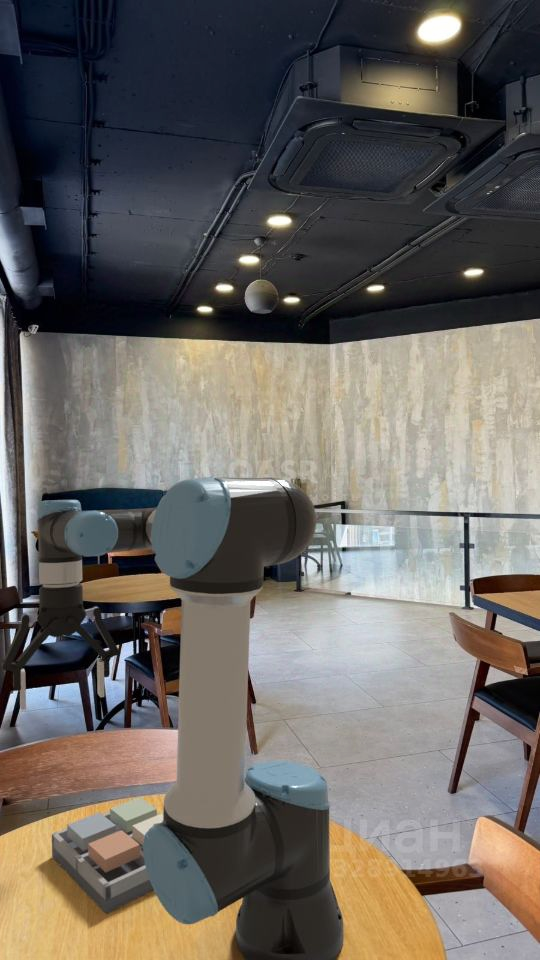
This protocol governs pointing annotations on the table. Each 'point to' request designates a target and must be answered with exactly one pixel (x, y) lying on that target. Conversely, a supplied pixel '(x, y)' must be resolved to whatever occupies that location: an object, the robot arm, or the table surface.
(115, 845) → the key terracotta
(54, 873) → the table surface
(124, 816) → the key sage
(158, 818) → the key cream
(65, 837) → the keypad base
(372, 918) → the table surface
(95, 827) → the key slate
